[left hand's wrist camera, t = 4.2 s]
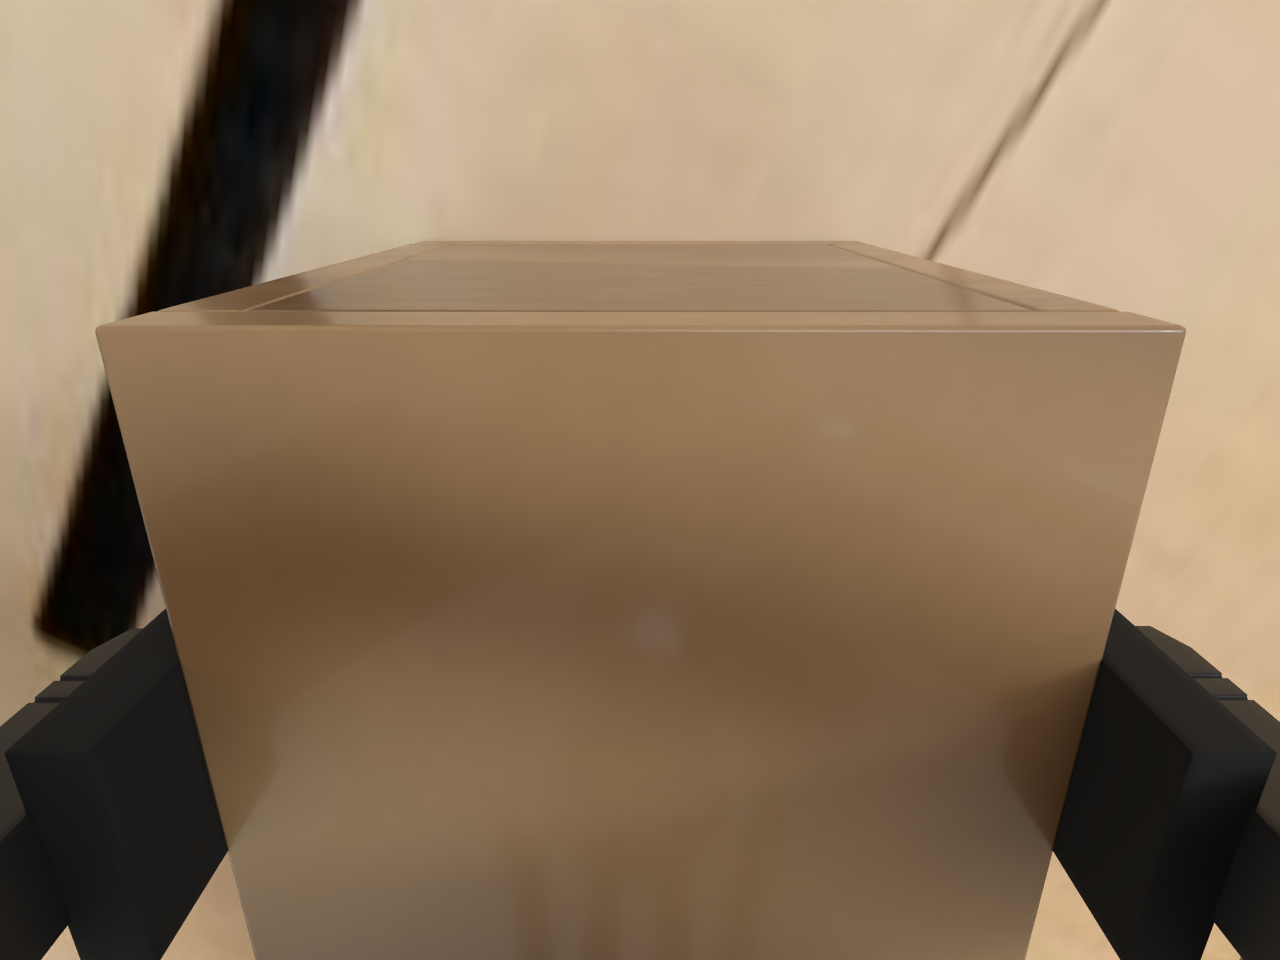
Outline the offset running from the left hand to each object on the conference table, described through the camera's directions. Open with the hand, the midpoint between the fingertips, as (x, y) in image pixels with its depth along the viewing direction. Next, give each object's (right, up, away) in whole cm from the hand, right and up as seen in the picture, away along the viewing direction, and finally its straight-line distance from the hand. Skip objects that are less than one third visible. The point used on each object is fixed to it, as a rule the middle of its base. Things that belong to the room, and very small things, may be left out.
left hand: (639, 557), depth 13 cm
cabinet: (0, -3, +7) cm, 8 cm away
